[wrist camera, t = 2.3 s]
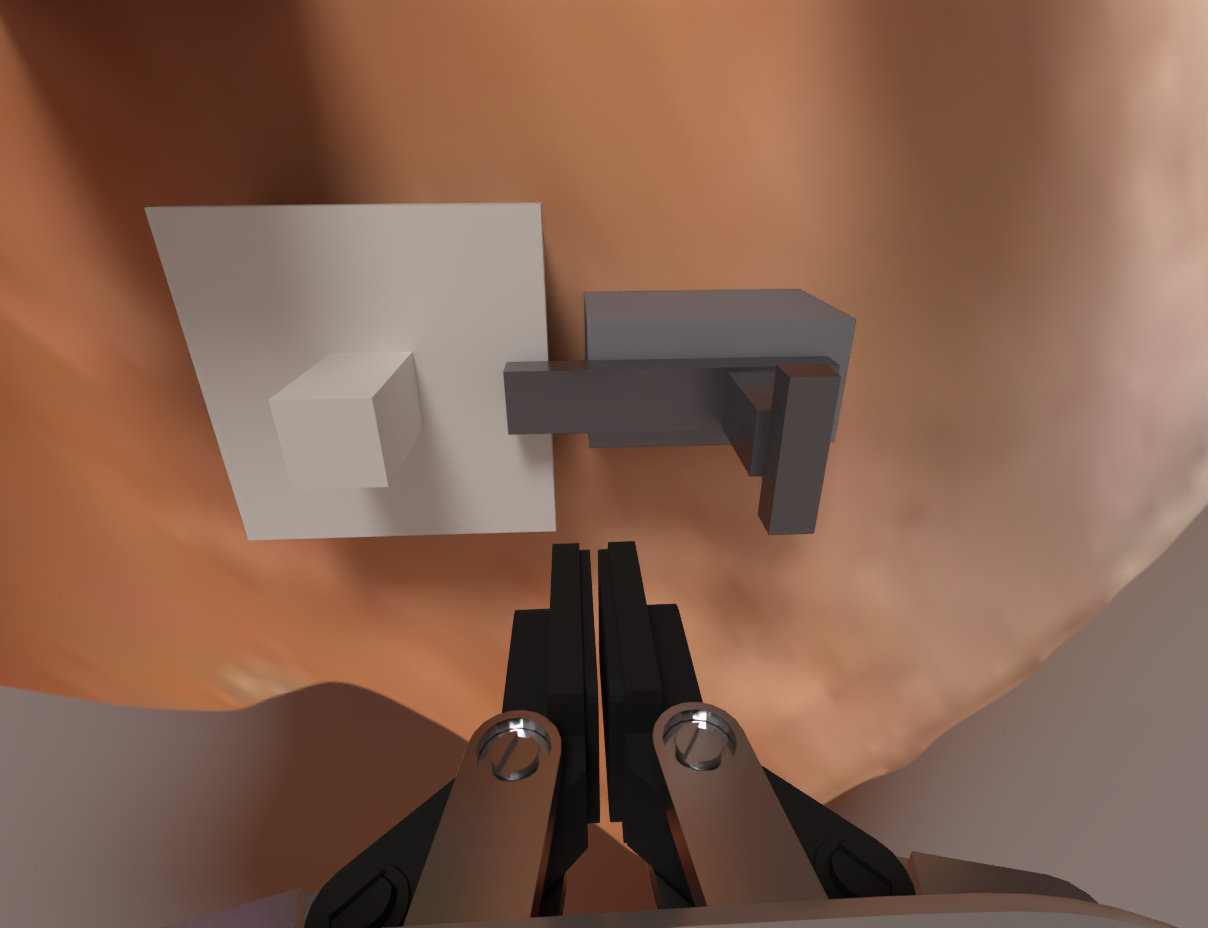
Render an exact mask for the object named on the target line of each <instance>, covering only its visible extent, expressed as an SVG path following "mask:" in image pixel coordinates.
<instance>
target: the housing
mask: <svg viewBox="0 0 1208 928" xmlns="http://www.w3.org/2000/svg"><path fill="white" fill-rule="evenodd" d="M584 311H585V360H634V359H688V358H742V357H796V356H828V357H830V358H831V359H832V360H834V361H835V362H836V363H838V364H839V365H840V369H839V375H840V376H841V382H840V387H839V393H838V399H837V405H836V410H835V416H834V422H833V427H832V433H831V439H830V442H835V436H836V431H837V425H838V419H839V414H840V408H841V403H842V397H843V391H844V386H845V380H846V375H847V369H848V363H849V358H850V352H851V347H852V341H853V335H854V330H855V324H856V318H854V317H852V316H850V315H848V314H846V313H844V312H842V311H840V310H838V309H837V308H835V307H833V306H831V305H829V304H827V303H825V302H823V301H821V300H819V299H818V298H816V297H814V296H812V295H810V294H808V293H806V292H804V291H802V290H801V289H774V290H703V291H631V292H584ZM588 434H589V448H611V447H652V446H693V445H731V443H730V441H729V439H728V438H727V436H726V434H725V432H724V431H723V430H691V431H648V432H606V433H588Z"/></svg>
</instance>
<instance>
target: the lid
mask: <svg viewBox="0 0 1208 928" xmlns="http://www.w3.org/2000/svg"><path fill="white" fill-rule="evenodd" d="M144 209H145V212H146V215H147V219H148V222H149V225H150V228H151V231H152V235H153V238H154V241H155V244H156V247H157V250H158V254H159V257H160V260H161V263H162V266H163V270H164V273H165V276H166V279H167V282H168V285H169V289H170V292H171V295H172V298H173V301H174V305H175V308H176V311H177V314H178V317H179V321H180V324H181V327H182V330H183V333H184V336H185V340H186V343H187V346H188V349H189V352H190V356H191V359H192V362H193V365H194V368H195V371H196V375H197V378H198V381H199V384H200V387H201V391H202V394H203V397H204V400H205V403H206V407H207V410H208V413H209V416H210V419H211V422H212V426H213V429H214V432H215V435H216V438H217V442H218V445H219V448H220V451H221V454H222V457H223V461H224V464H225V467H226V470H227V473H228V477H229V480H230V483H231V486H232V489H233V493H234V496H235V499H236V502H237V505H238V508H239V512H240V515H241V518H242V521H243V524H244V528H245V531H246V534H247V537H248V540H276V539H309V538H343V537H376V536H410V535H443V534H476V533H510V532H543V531H556V520H557V518H556V496H555V475H554V453H553V434H520V435H508V426H507V414H506V402H505V389H504V377H503V370H504V367H505V365H506V362H526V361H549V345H548V324H547V302H546V281H545V259H544V237H543V216H542V203H425V204H299V205H173V206H152V207H144Z"/></svg>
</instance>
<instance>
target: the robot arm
mask: <svg viewBox="0 0 1208 928" xmlns="http://www.w3.org/2000/svg"><path fill="white" fill-rule="evenodd" d="M598 596H599V662H600V679H601V694H602V709H603V725H604V740H605V755H606V770H607V785H608V801H609V815H610V822H622V829H623V840H624V843H627V845H628V846H629V847H630V848H631V849H632V850H633V851H635V852H636V853H637V854H638V855H639V856H640V857H641V858H643V859H644V860H645V861H646V862H647V865H648V874H649V880H650V884H651V888H652V891H653V895H654V899H655V903H656V907H657V910H645V911H629V912H614V913H599V914H582V915H566V916H563V913H564V912H563V911H564V905H565V899H566V892H567V884H568V869H569V868H570V867H571V866H572V865H573V863H574V862H575V861H576V860H577V859H578V858H579V857H580V856H581V855H582V854H583V853H584V851H585V850H586V849H587V848H588V828H587V824H588V823H600V784H599V710H598V680H597V663H596V646H595V629H594V613H593V596H592V579H591V562H590V550H579V543H569V544H553V548H552V572H551V596H550V609H531V610H515V613H514V619H513V627H512V635H511V643H510V652H509V660H508V668H507V676H506V684H505V692H504V700H503V708H502V714H498V715H496V716H494V717H492V718H491V719H489V720H487V721H485V722H484V723H483V724H482V725H481V726H480V727H479V728H478V729H477V730H476V731H475V732H474V733H473V735H472V737H471V739H470V741H469V743H468V745H467V747H466V750H465V753H464V756H463V759H462V762H461V764H460V767H459V770H458V773H457V776H456V777H455V778H454V779H453V780H452V781H450V782H449V783H448V784H447V785H445V786H444V787H443V788H442V789H441V790H439V791H438V792H437V793H435V794H434V795H433V796H432V797H431V798H429V799H428V800H427V801H426V802H424V803H423V804H422V805H421V806H419V807H418V808H417V809H416V810H414V811H413V812H412V813H411V814H409V815H408V816H407V817H406V818H404V819H403V820H402V821H401V822H399V823H398V824H397V825H396V826H394V827H393V828H392V829H391V830H389V831H388V832H387V833H386V834H384V835H383V836H382V837H381V838H379V839H378V840H377V841H376V842H374V843H373V844H372V845H371V846H370V847H369V848H367V849H366V850H365V851H363V852H362V853H361V854H360V855H358V856H357V857H356V858H355V859H353V860H352V861H351V862H350V863H348V864H347V865H346V866H345V867H343V868H342V869H341V870H340V871H338V872H337V873H336V874H335V875H334V876H333V877H332V878H331V879H330V880H329V881H328V882H327V883H326V884H325V885H324V886H323V887H322V889H321V890H320V891H316V892H313V893H310V894H306V895H303V894H302V891H301V889H300V888H299V889H295V890H291V891H288V892H284V893H281V894H278V895H274V896H271V897H267V898H264V899H260V900H257V901H253V902H250V903H247V904H243V905H240V906H236V907H233V908H230V909H226V910H222V911H219V912H216V913H212V914H208V915H205V916H201V917H198V918H195V919H191V920H188V921H184V922H181V923H177V924H174V925H170V926H167V927H163V928H1177V927H1174V926H1172V925H1169V924H1167V923H1164V922H1160V921H1157V920H1154V919H1151V918H1147V917H1145V916H1141V915H1138V914H1135V913H1132V912H1129V911H1125V910H1122V909H1119V908H1115V907H1111V906H1106V905H1102V904H1099V903H1098V902H1097V901H1095V900H1094V899H1093V898H1092V897H1091V896H1090V895H1089V894H1087V893H1086V892H1084V891H1083V890H1081V889H1079V888H1077V887H1076V886H1074V885H1073V884H1071V883H1069V882H1068V881H1065V880H1062V879H1059V878H1056V877H1053V876H1050V875H1046V874H1040V873H1035V872H1029V871H1023V870H1017V869H1011V868H1006V867H1000V866H994V865H988V864H983V863H977V862H971V861H965V860H960V859H954V858H948V857H942V856H936V855H930V854H925V853H919V852H913V851H912V852H911V855H910V858H909V859H908V858H903V857H897V856H895V855H894V854H893V852H891V851H890V850H889V849H888V848H886V847H885V846H884V845H883V844H881V843H880V842H879V841H878V840H876V839H875V838H873V837H871V836H870V835H868V834H867V833H865V832H864V831H862V830H861V829H859V828H858V827H856V826H854V825H853V824H851V823H850V822H848V821H847V820H845V819H844V818H842V817H841V816H839V815H837V814H836V813H834V812H833V811H831V810H830V809H828V808H827V807H825V806H823V805H822V804H820V803H819V802H817V801H816V800H814V799H813V798H811V797H810V796H808V795H806V794H805V793H803V792H802V791H800V790H799V789H797V788H796V787H794V786H792V785H791V784H789V783H788V782H786V781H785V780H783V779H782V778H780V777H779V776H777V775H775V774H774V773H772V772H771V771H769V770H768V769H766V768H765V767H763V766H761V764H760V762H759V760H758V758H757V756H756V754H755V752H754V750H753V748H752V746H751V744H750V743H749V741H748V739H747V737H746V735H745V733H744V731H743V729H742V728H741V726H740V725H739V724H738V722H737V721H736V719H734V718H733V717H732V716H731V715H729V714H728V713H727V712H726V711H724V710H722V709H720V708H718V707H716V706H713V705H710V704H705V703H703V702H702V698H701V694H700V690H699V686H698V682H697V679H696V675H695V671H694V667H693V663H692V659H691V655H690V651H689V648H688V644H687V640H686V636H685V632H684V628H683V624H682V621H681V617H680V613H679V609H678V607H677V605H676V604H657V605H647V604H646V599H645V593H644V588H643V582H642V577H641V572H640V566H639V561H638V556H637V550H636V545H635V542H634V541H627V542H608V549H600V550H598Z"/></svg>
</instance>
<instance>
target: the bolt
mask: <svg viewBox="0 0 1208 928" xmlns="http://www.w3.org/2000/svg"><path fill="white" fill-rule="evenodd" d="M839 369H840V365H839V364H838V363H836V362H835V361H834V360H832V359H831V358H830V357H828V356H796V357H742V358H688V359H634V360H580V361H526V362H506V365H505V367H504V370H503V377H504V389H505V402H506V414H507V426H508V435H520V434H563V433H606V432H648V431H691V430H723V431H724V432H725V434H726V436H727V438H728V439H729V441H730V443H731V445H732V446H733V448H734V450H735V451H736V453H737V455H738V457H739V458H740V460H741V462H742V464H743V465H744V467H745V469H746V470H747V472H748V474H749V476H750V477H751V476H763V477H762V486H761V494H760V502H759V510H758V516H759V518H760V520H761V522H762V523H763V525H764V527H765V529H766V531H767V533H768V535H785V534H814V530H815V525H816V519H817V513H818V508H819V502H820V496H821V490H822V485H823V479H824V473H825V467H826V462H827V456H828V450H829V445H830V439H831V433H832V427H833V422H834V416H835V410H836V405H837V399H838V393H839V387H840V382H841V376H840V375H839Z"/></svg>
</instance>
